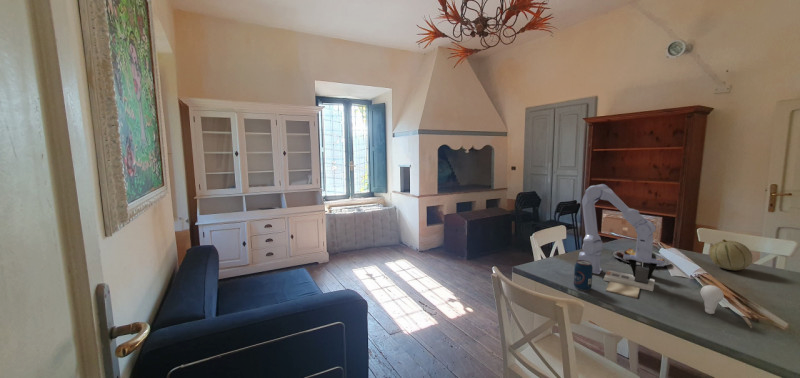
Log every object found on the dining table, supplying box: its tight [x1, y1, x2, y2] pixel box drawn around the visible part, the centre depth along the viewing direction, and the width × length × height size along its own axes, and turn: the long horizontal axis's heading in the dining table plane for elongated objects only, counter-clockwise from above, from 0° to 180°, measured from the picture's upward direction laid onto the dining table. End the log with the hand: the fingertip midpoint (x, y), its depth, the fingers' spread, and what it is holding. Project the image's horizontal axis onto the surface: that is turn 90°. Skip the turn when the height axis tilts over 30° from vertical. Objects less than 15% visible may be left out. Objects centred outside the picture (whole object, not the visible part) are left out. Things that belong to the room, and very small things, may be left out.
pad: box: [605, 281, 641, 299], centre depth 137 cm, size 11×11×1 cm
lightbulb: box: [699, 284, 725, 315], centre depth 116 cm, size 6×6×11 cm
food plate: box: [611, 248, 671, 267], centre depth 172 cm, size 25×23×4 cm
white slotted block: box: [603, 270, 656, 292], centre depth 145 cm, size 18×10×3 cm, turn 48°
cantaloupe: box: [709, 239, 753, 271], centre depth 157 cm, size 15×15×15 cm
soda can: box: [573, 259, 593, 292], centre depth 140 cm, size 7×7×12 cm
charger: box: [635, 265, 649, 284], centre depth 142 cm, size 4×6×8 cm
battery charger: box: [640, 253, 657, 277], centre depth 150 cm, size 7×4×11 cm, turn 119°
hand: (641, 277), depth 142 cm, fingers closed on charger, 4 cm apart
